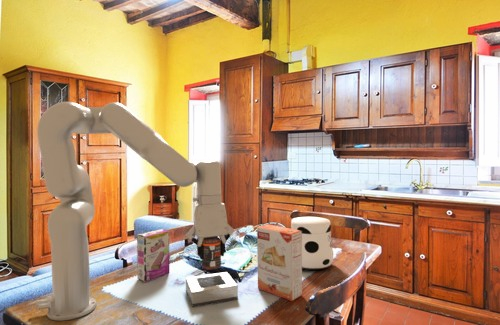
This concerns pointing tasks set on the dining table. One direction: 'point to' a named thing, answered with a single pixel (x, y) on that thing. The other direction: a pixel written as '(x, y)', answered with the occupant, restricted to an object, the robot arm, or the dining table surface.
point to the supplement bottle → (211, 253)
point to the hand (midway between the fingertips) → (211, 255)
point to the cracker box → (280, 261)
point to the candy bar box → (152, 255)
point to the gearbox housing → (211, 289)
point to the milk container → (314, 242)
